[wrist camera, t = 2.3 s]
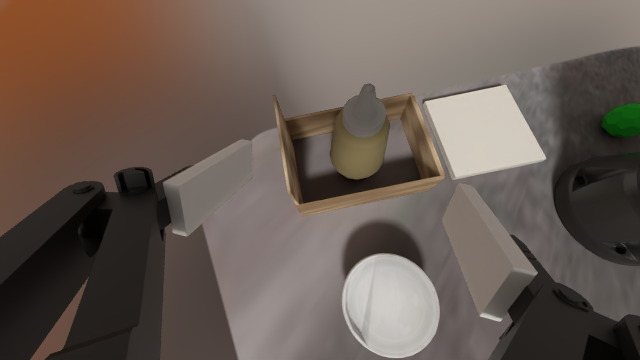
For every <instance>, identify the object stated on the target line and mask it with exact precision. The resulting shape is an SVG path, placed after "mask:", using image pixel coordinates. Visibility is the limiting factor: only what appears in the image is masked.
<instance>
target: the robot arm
mask: <svg viewBox="0 0 640 360" xmlns="http://www.w3.org/2000/svg"><path fill="white" fill-rule="evenodd" d="M114 178H115V182H116V185H117V188H118V191H119V192H105V189H104V186H103V184H102V183H100V182H95V181H89V182H88V181H84V182H81V183H80V182H78V183H75V184H73V185H70V186H68V187H66V188H64V189H63V190H62V191H60V192H59V193H58V194H56V195H55V196H54V197H52V198H51V199H50V200H48V201H47V202H46V203H44V204H43V205H42V206H40V207H39V208H38V209H37V210H35V211H34V212H33V213H32V214H30V215H29V216H27V217H26V218H25V219H23V220H22V221H21V222H19V223H18V224H17V225H15V226H14V227H13V228H12V229H10V230H9V231H8V232H6V233H5V234H4V235H2V236H1V237H0V360H30V359H31V357H32V356H33V355H34V353H35V352H36V350H37V349H38V348H39V346H40V345H41V343H42V342H43V341H44V339H45V338H46V336H47V335H48V333H49V332H50V331H51V329H52V328H53V326H54V325H55V323H56V322H57V321H58V319H59V318H60V317H61V315H62V314H63V312H64V311H65V309H66V308H67V307H68V305H69V304H70V302H71V301H72V300H73V298H74V297H75V295H76V294H77V293H78V291H79V290H80V288H81V287H82V285H83V284H84V283H85V281H86V280H87V278H88V277H89V279H88V281H87V284H86V287H85V290H84V292H83V295H82V298H81V301H80V304H79V307H78V309H77V313H76V315H75V318H74V321H73V324H72V326H71V329H70V332H69V335H68V338H67V341H66V344H65V345H64V347H63V349H62V350H61V351H58V352H55V353H52V354H50V355H49V356H48V357H47V358H46V359H45V360H160V348H161V326H162V305H163V282H164V260H165V238H166V233H165V227H166V226H167V225H169V224H170V223H171V226H172V231H173V233H176V234H179V235H183V236H188V235H189V234H191V233H192V231H194V230H195V229H196V228H197V227H198V226H199V225H201V224H202V223H203V222H204V221H205V220H206V219H207V218H208V217H209V216H211V215H212V214H213V213H214V212H215V211H216V210H217V209H218V208H219V207H221V206H222V205H223V204H224V203H225V202H226V201H227V200H228V199H229V198H230V197H232V196H233V195H234V194H235V193H236V192H237V191H238V190H239V189H240V188H242V187H243V186H244V185H245V184H246V183H247V182H248V181H249V180H250V179H252V141H247V140H242V139H241V140H239V141H237V142H235V143H234V144H232V145H230V146H228V147H226V148H224V149H223V150H221V151H219V152H217V153H215V154H214V155H212V156H210V157H208V158H206V159H205V160H203V161H201V162H199V163H197V164H195V165H192V166H188V167H185V168H183V169H181V170H179V171H178V172H176V173H174V174H172V175H171V176H168V177H166V178H164V179H163V180H161V181H159V182H157V183H154V178H153V174H152V171H151V170H150V169H149V168H144V167H134V168H127V169H123V170H120V171H118V172H116V173H115V174H114ZM555 204H556V208H557V211H558V214H559V217H560V219H561V221H562V222H563V224H564V226H565V227H566V229H567V230H568V231H569V233H570V234H571V235H572V236H573V237H574V238H575V239H576V240H577V241H578V242H579V243H580V244H581V245H582V246H584V247H585V248H586V249H588V250H589V251H591V252H592V253H594V254H595V255H597V256H599V257H601V258H603V259H606V260H608V261H611V262H614V263H617V264H622V265H628V266H640V152H636V153H627V154H617V155H608V156H600V157H596V158H592V159H589V160H586V161H584V162H581V163H579V164H576V165H574V166H572V167H570V168H569V169H568V170H566V171H565V172H564V173H563V174H562V176H561V177H560V178H559V180H558V183H557V185H556V189H555ZM442 222H443V225H444V227H445V230H446V232H447V235H448V237H449V240H450V242H451V245H452V247H453V250H454V252H455V255H456V258H457V260H458V263H459V265H460V268H461V270H462V273H463V275H464V278H465V280H466V283H467V285H468V288H469V290H470V293H471V296H472V298H473V301H474V303H475V306H476V308H477V311H478V313H479V316H481V317H485V318H488V319H492V320H496V321H501V320H502V319H503V317H504V316H505V315H506V313H507V312H508V313H509V315H510V317H511V319H512V321H513V322H512V323H511V324H510V326H509V327H508V328H507V329H506V331H505V332H504V333H503V334H502V336H501V337H500V338H499V339H500V341H499V343H498V345H497V346H496V348H495V350H494V351H493V353H492V354H491V356H490V358H489V359H488V360H640V316H636V315H630V314H629V315H627V316H625V317H624V318H622V319H621V320H620V321H619V322H617V321H615V320H612V319H610V318H608V317H605V316H603V315H601V314H598V313H596V312H594V311H593V307H592V306H591V305H590V303H589V302H588V301H587V300H586V299H585V298H584V297H582V296H581V295H580V294H579V293H577V292H575V291H574V290H572V289H571V288H569V287H567V286H565V285H563V284H560V283H556V282H555V281H554V280H553V279H552V278H551V276H550V275H549V274H548V273H547V271H546V270H545V269H544V268H543V266H542V265H541V264H540V263H539V261H536V258H535V256H534V255H533V254H531V251H530V250H529V249H528V248H527V246H526V245H525V244H524V243H523V242H521V241H520V240H519V239H518V238H516V237H515V236H514V235H510V234H508V232H507V231H506V230H505V228H504V227H503V226H502V224H501V223H500V222H499V220H498V219H497V218H496V217H495V215H494V214H493V213H492V211H491V210H490V209H489V207H488V206H487V205H486V203H485V202H484V201H483V199H482V198H481V197H480V195H479V194H478V193H477V191H476V190H475V189H474V187H473V186H471V185H466V184H461V183H458V185H457V188H456V190H455V192H454V194H453V197H452V199H451V201H450V203H449V206H448V208H447V210H446V212H445V215H444V217H443V219H442Z"/></svg>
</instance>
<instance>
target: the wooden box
mask: <svg viewBox="0 0 640 360" xmlns="http://www.w3.org/2000/svg"><path fill="white" fill-rule="evenodd" d="M273 99H274V106H275V113H276V119H277V125H278V132H279V139H280V145H281V152H282V158H283V165H284V171H285V178H286V184H287V191H288V194H289V195H290V197H291V198H292V199H293V201H294V202H295V204H296V207H297V209H298V210H299V212H300V213H301V214H302V216H306V215H311V214H316V213H321V212H326V211H330V210H335V209H340V208H345V207H350V206H355V205H360V204H365V203H370V202H375V201H379V200H384V199H389V198H394V197H399V196H404V195H409V194H414V193H419V192H424V191H428V190H430V189H431V188H432V187H433V186H435V185H436V184H437V183H439V182H440V181H441V180H443V179H444V178H445V177H444V176H445V173H444V171H443V168H442V166H441V163H440V161H439V158H438V155H437V153H436V150H435V148H434V145H433V143H432V140H431V137H430V135H429V132H428V130H427V127H426V125H425V122H424V120H423V117H422V114H421V112H420V109H419V107H418V104H417V102H416V99H415V96H413V95H412V93H408V94H404V95H399V96H394V97H389V98H384V99H379V100H380V101H381V102H382V103H383V104H384V106H385V109H386V115H387V117H388V120H393V119H398V118H400V120H401V122H402V125H403V128H404V131H405V134H406V137H407V139H408V142H409V145H410V148H411V151H412V154H413V157H414V159H415V162H416V165H417V168H418V171H419V174H420V176H421V179H422V180H417V181H412V182H407V183H402V184H398V185H393V186H388V187H383V188H378V189H373V190H368V191H363V192H358V193H353V194H348V195H344V196H339V197H334V198H329V199H324V200H319V201H314V202H309V203H304V204H303V199H302V193H301V187H300V181H299V176H298V170H297V164H296V158H295V152H294V147H293V141H292V140H295V139H300V138H305V137H310V136H315V135H320V134H325V133H330V132H334V126H335V121H336V117H337V115H338V114H339V113H340V111H341V110H342V109H343V108H344V107H340V108H335V109H331V110H325V111H321V112H316V113H311V114H306V115H302V116H296V117H292V118H286V119H284V117H283V115H282V112H281V109H280V106H279V104H278V101H277V99H276V96H275V95H273Z"/></svg>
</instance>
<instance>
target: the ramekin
mask: <svg viewBox="0 0 640 360" xmlns="http://www.w3.org/2000/svg"><path fill="white" fill-rule="evenodd" d="M342 309H343V313H344V317H345V320H346V322H347V325H348V327H349V328H350V330H351V332H352V333H353V335H354V336H355V337H356V339H357V340H358V341H359V342H360V343H361V344H362V345H364V346H365V347H366V348H367V349H369V350H370V351H372V352H374V353H376V354H379V355H381V356H384V357H389V358H403V357H408V356H411V355H413V354H416V353H418V352H419V351H421V350H422V349H423V348H425V347H426V346H427V345H428V344H429V342H430V341H431V340H432V338H433V336H434V335H435V333H436V330H437V327H438V323H439V316H440V307H439V300H438V296H437V293H436V291H435V288H434V286H433V284H432V282H431V280H430V279H429V278H428V276H427V275H426V274H425V272H424V271H423V270H422V269H421V268H420V267H419V266H417V265H416V264H415V263H414V262H412V261H410V260H409V259H407V258H405V257H402V256H399V255H396V254H390V253H378V254H373V255H370V256H367V257H365V258H363V259H362V260H360V261H359V262H358V263H357V264H355V266H354V267H353V268H352V269H351V270H350V272H349V273H348V275H347V277H346V280H345V282H344V286H343V290H342Z"/></svg>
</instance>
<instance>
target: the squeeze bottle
mask: <svg viewBox="0 0 640 360" xmlns="http://www.w3.org/2000/svg"><path fill="white" fill-rule="evenodd" d="M389 128H390V123H389V120H388V117H387V115H386V109H385V106H384V104H383V103H382V102H381V101H380V100H379V99H378V98H376V94H375V87H374V86H373V85H372V84H366V85H364V86H363V88H362V90H361V92H360V94H359V95H358V96H355V97H353V98H351V99H350V100H348V102H347V103H346V104H345V106H344V108H343V109H342V110H341V111H340V113H339V114H338V115H337V117H336V121H335V126H334V132H333V138H332V144H331V150H330V158H331V162H332V165H333V166H334V167H335V169H336V170H337V171H338V172H339V173H341V174H342V175H344V176H345V177H347V178H349V179H355V180H357V179H362V178H367V177H369V176H371V175H372V174H374V173H376V172H377V171H378V169H379V168H380V166H381V165H382V163H383V159H384V154H385V149H386V144H387V139H388V134H389Z"/></svg>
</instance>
